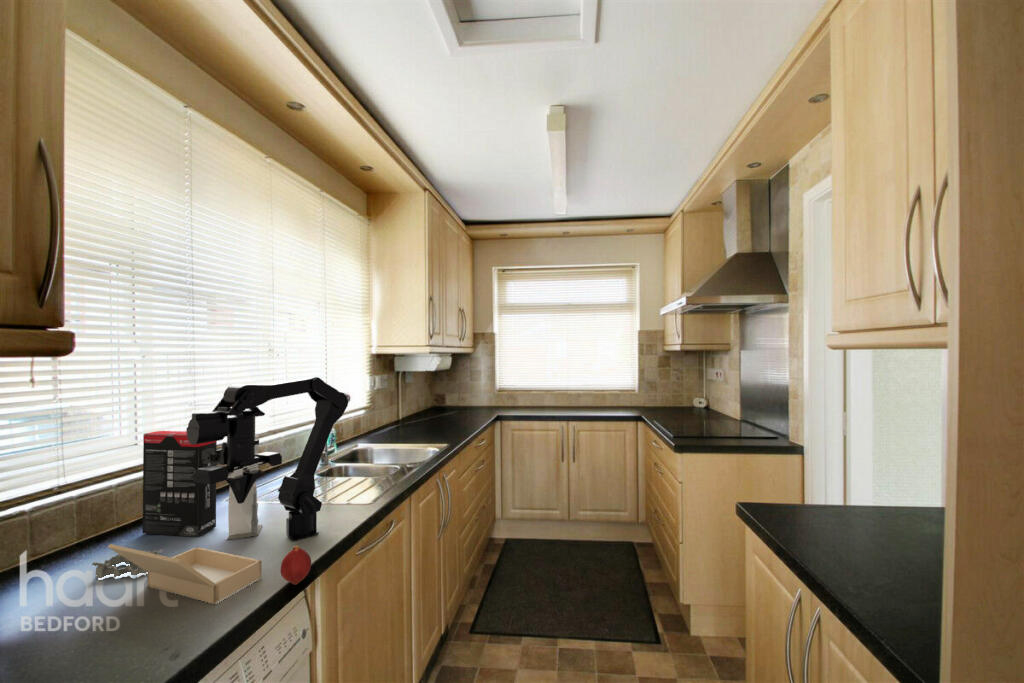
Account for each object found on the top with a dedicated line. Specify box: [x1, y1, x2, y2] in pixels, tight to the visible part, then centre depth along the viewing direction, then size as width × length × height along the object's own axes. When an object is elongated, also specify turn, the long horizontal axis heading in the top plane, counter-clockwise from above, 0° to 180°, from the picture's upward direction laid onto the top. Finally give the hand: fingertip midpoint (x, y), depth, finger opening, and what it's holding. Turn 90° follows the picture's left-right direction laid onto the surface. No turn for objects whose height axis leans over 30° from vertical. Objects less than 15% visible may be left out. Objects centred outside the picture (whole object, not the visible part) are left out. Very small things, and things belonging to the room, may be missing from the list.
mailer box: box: [147, 546, 262, 605], centre depth 92 cm, size 10×20×4 cm, turn 70°
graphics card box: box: [141, 430, 218, 538], centre depth 118 cm, size 17×7×27 cm, turn 84°
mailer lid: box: [107, 543, 216, 587], centre depth 84 cm, size 10×20×1 cm
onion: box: [280, 545, 312, 585], centre depth 91 cm, size 6×6×8 cm
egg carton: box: [91, 548, 164, 578], centre depth 97 cm, size 11×8×4 cm
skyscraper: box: [227, 433, 263, 541], centre depth 118 cm, size 8×8×28 cm
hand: (240, 503), depth 103 cm, fingers closed
